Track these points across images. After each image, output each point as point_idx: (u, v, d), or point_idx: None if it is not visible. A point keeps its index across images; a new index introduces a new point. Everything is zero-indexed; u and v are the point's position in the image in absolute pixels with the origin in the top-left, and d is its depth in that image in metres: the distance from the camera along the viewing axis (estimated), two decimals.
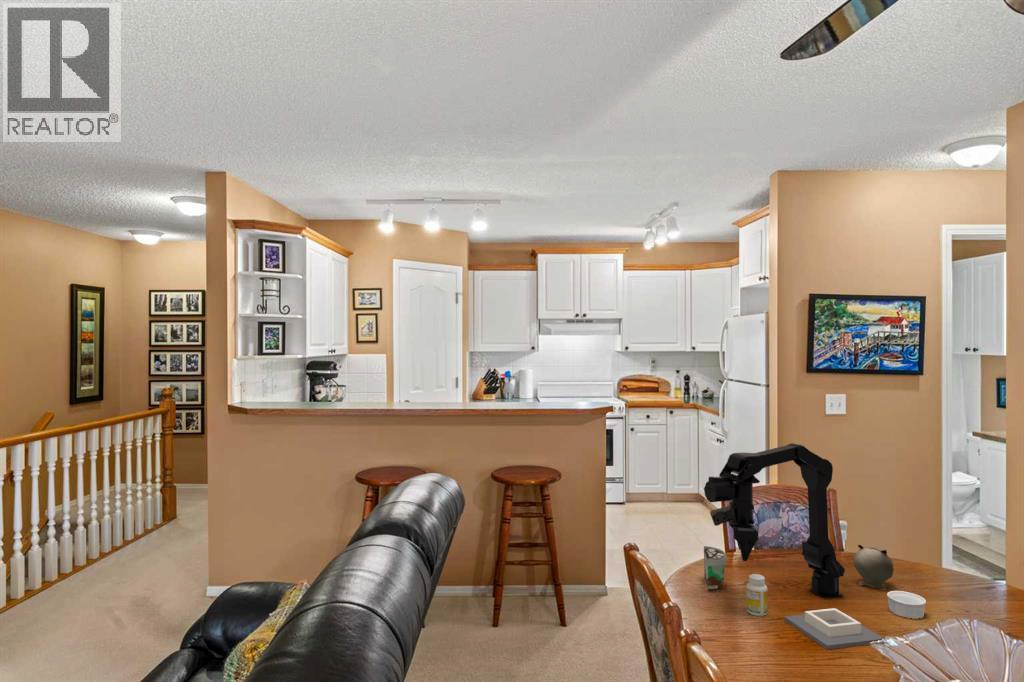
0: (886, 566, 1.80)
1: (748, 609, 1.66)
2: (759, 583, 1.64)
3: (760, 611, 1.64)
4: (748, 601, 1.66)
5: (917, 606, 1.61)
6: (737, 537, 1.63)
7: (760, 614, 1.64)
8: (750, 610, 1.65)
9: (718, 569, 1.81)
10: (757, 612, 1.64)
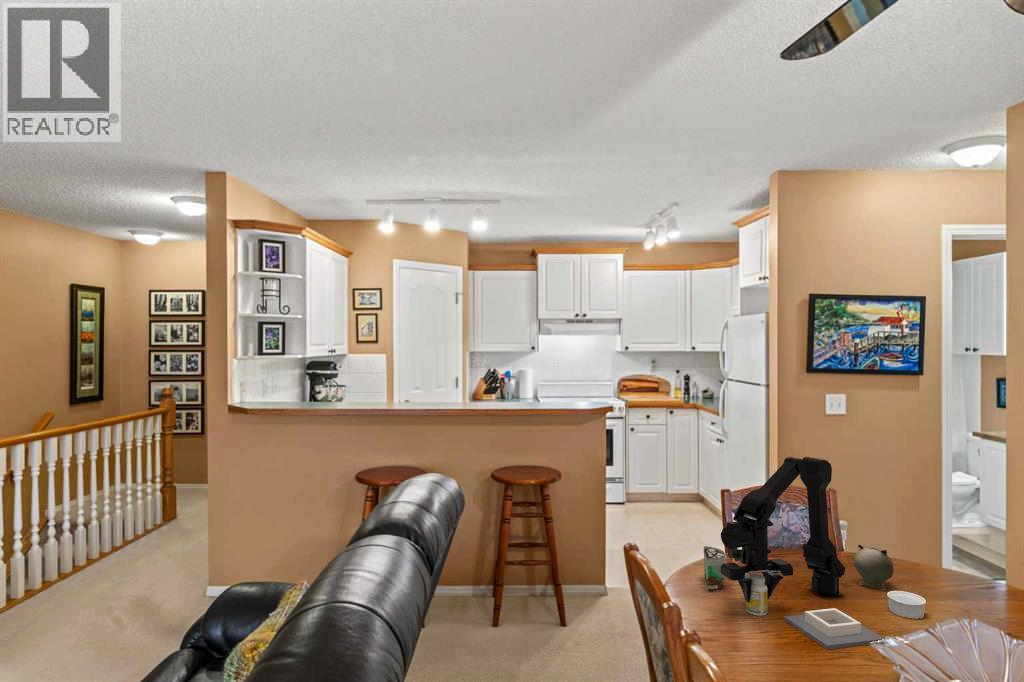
0: (886, 566, 1.80)
1: (748, 609, 1.66)
2: (759, 583, 1.64)
3: (760, 611, 1.64)
4: None
5: (917, 606, 1.61)
6: (721, 572, 1.67)
7: (760, 614, 1.64)
8: (750, 609, 1.65)
9: (718, 569, 1.81)
10: (757, 612, 1.64)
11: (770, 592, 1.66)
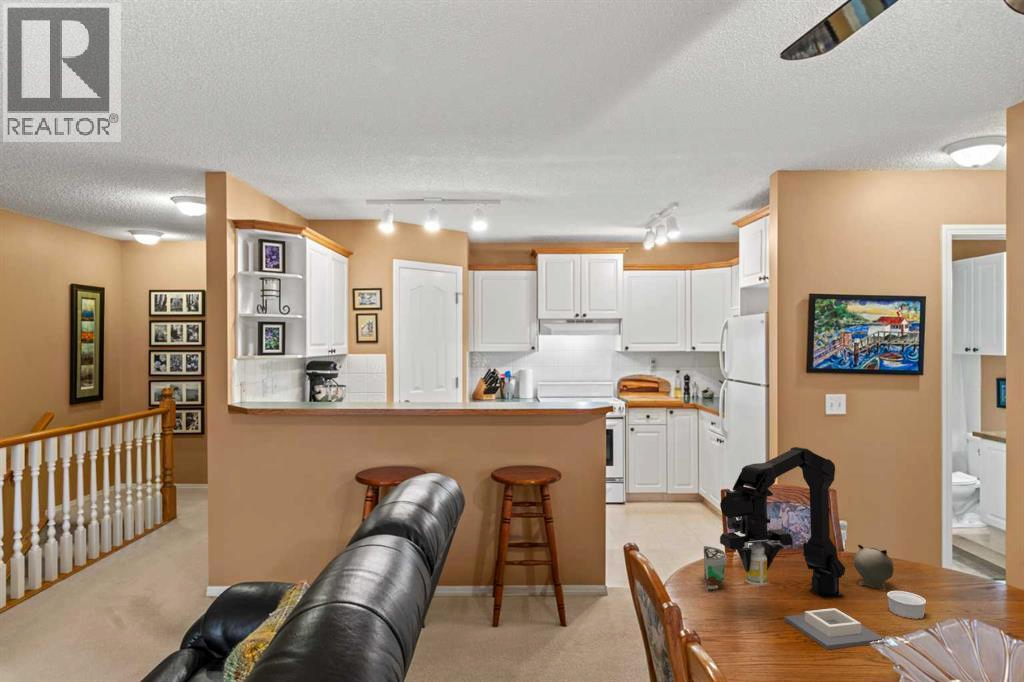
0: (886, 566, 1.80)
1: (747, 579, 1.66)
2: (759, 553, 1.64)
3: (760, 580, 1.64)
4: None
5: (917, 606, 1.61)
6: (720, 542, 1.67)
7: (760, 583, 1.64)
8: (750, 579, 1.65)
9: (718, 569, 1.81)
10: (756, 581, 1.64)
11: (769, 562, 1.66)
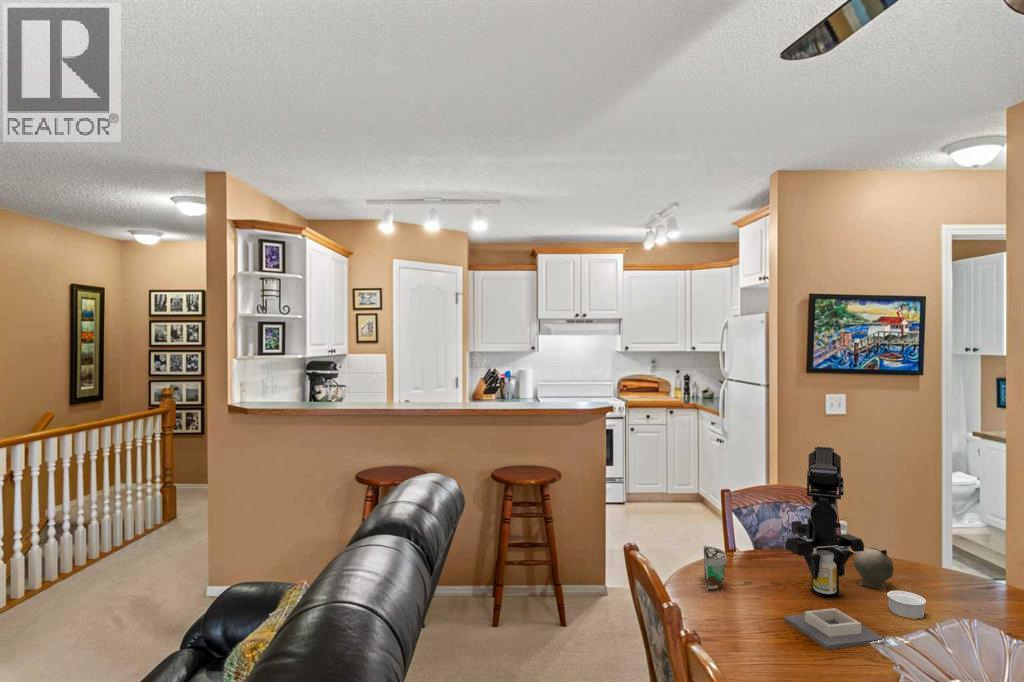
0: (886, 566, 1.80)
1: (815, 587, 1.56)
2: (828, 559, 1.54)
3: (829, 589, 1.53)
4: None
5: (917, 606, 1.61)
6: (786, 547, 1.57)
7: (829, 592, 1.53)
8: (818, 587, 1.55)
9: (718, 569, 1.81)
10: (826, 590, 1.54)
11: (839, 569, 1.55)
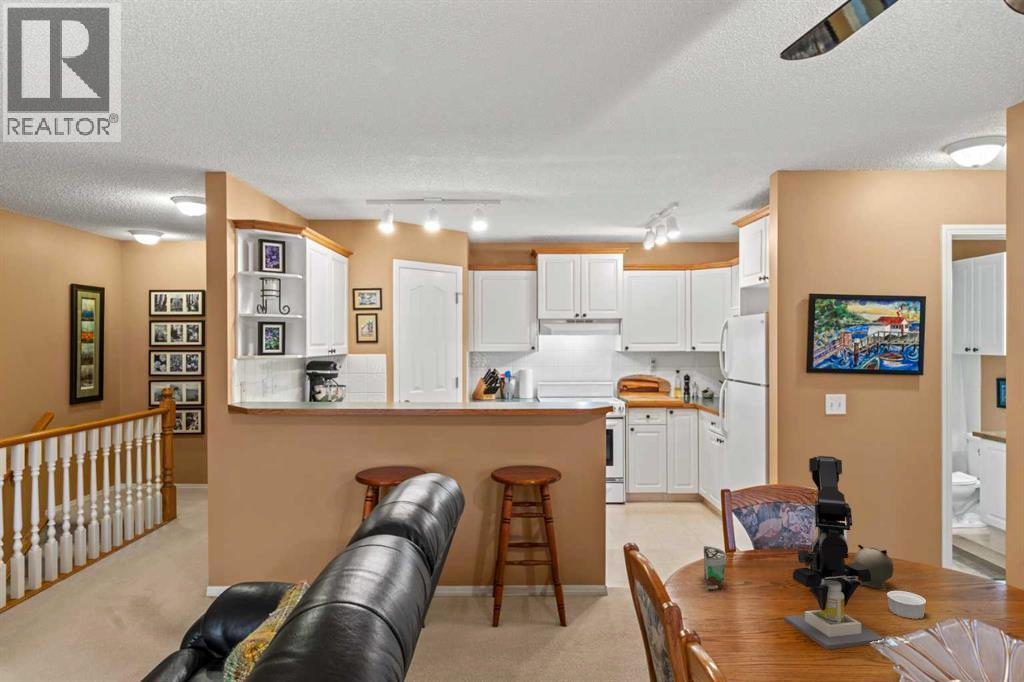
0: (886, 566, 1.80)
1: (823, 617, 1.55)
2: (836, 590, 1.53)
3: (837, 620, 1.52)
4: None
5: (917, 606, 1.61)
6: (793, 578, 1.56)
7: (837, 623, 1.52)
8: (826, 618, 1.54)
9: (718, 569, 1.81)
10: (834, 621, 1.53)
11: (847, 599, 1.54)
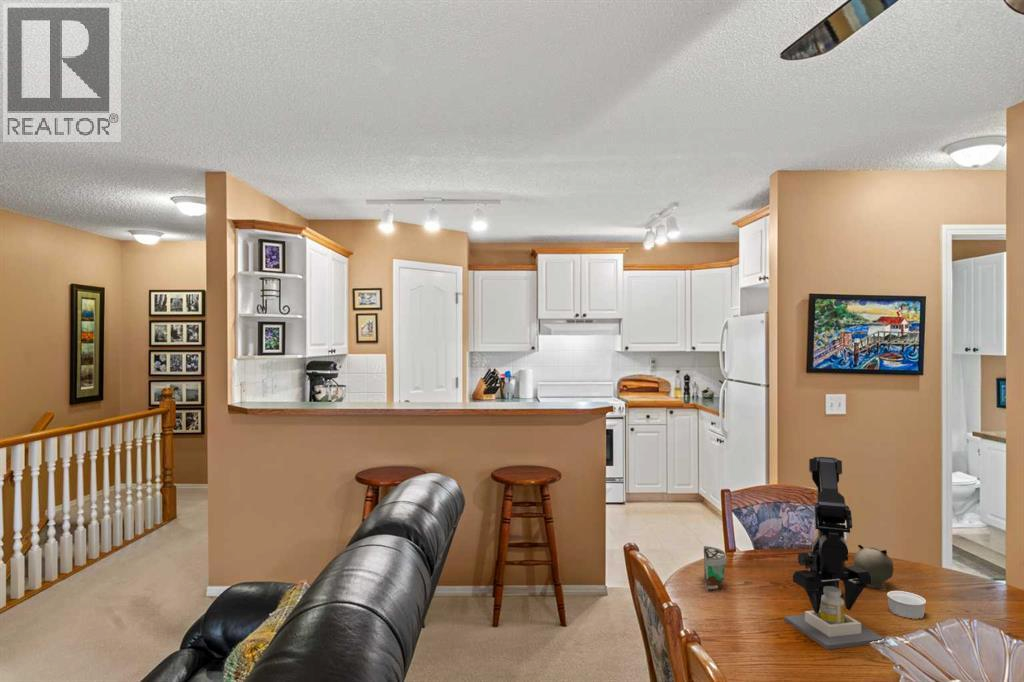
0: (886, 566, 1.80)
1: None
2: (836, 596, 1.53)
3: None
4: (823, 615, 1.55)
5: (917, 606, 1.61)
6: (793, 580, 1.55)
7: None
8: None
9: (718, 569, 1.81)
10: None
11: (853, 601, 1.55)
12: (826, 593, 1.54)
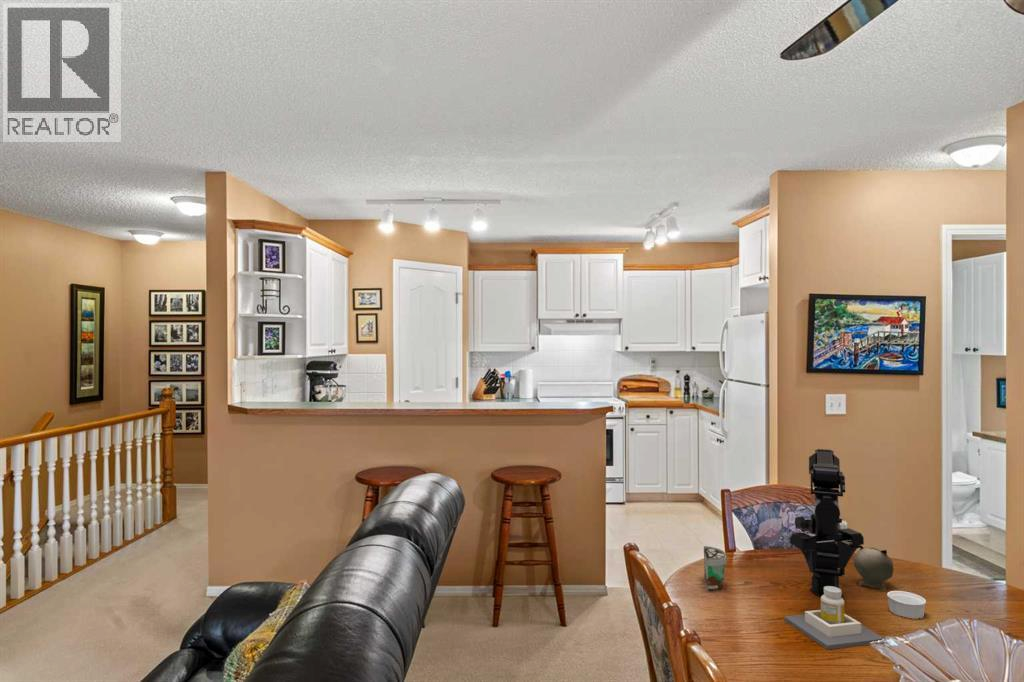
0: (886, 566, 1.80)
1: None
2: (836, 596, 1.53)
3: None
4: (823, 615, 1.54)
5: (917, 606, 1.61)
6: (790, 542, 1.65)
7: None
8: None
9: (718, 569, 1.81)
10: None
11: (846, 561, 1.65)
12: (826, 593, 1.54)
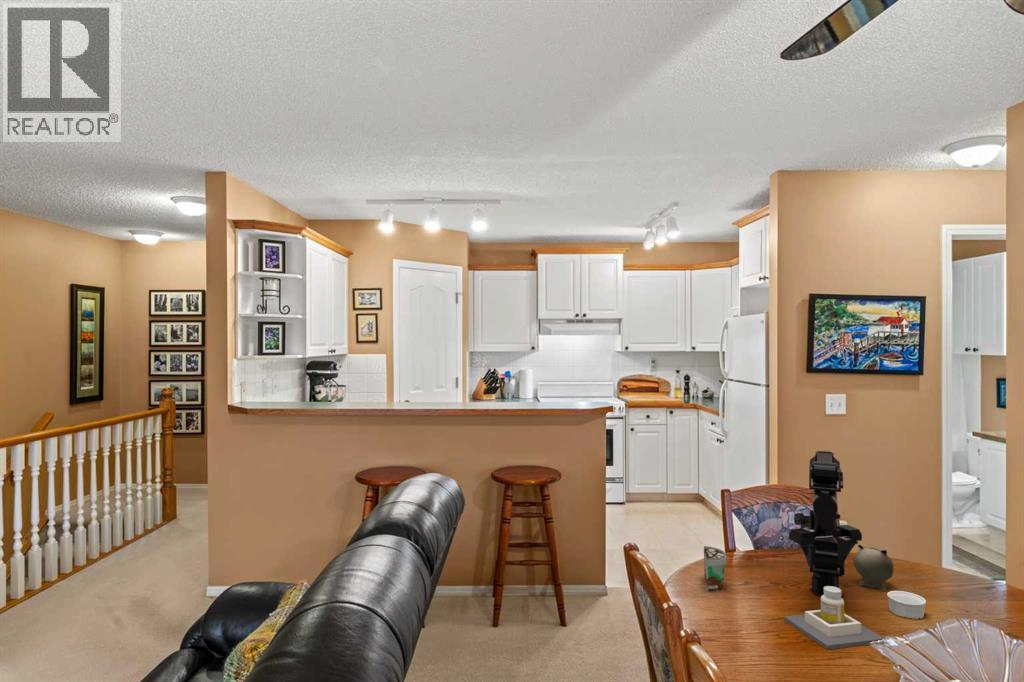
0: (886, 566, 1.80)
1: None
2: (836, 596, 1.53)
3: None
4: (823, 615, 1.54)
5: (917, 606, 1.61)
6: (789, 538, 1.68)
7: None
8: None
9: (718, 569, 1.81)
10: None
11: (845, 557, 1.67)
12: (826, 593, 1.54)
